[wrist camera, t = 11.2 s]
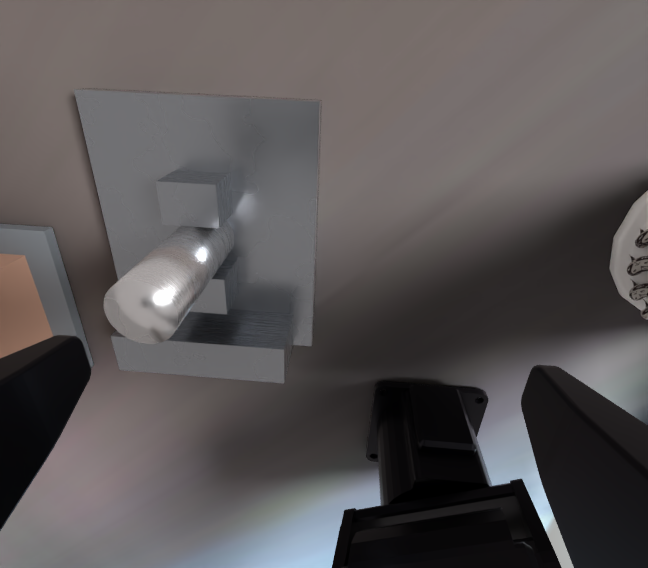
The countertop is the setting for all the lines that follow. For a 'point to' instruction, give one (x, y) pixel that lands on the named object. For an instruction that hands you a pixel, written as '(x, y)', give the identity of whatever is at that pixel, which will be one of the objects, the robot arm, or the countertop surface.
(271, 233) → the grey plate with rod
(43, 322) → the collar
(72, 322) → the mat
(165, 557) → the countertop surface
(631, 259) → the decorative candle
